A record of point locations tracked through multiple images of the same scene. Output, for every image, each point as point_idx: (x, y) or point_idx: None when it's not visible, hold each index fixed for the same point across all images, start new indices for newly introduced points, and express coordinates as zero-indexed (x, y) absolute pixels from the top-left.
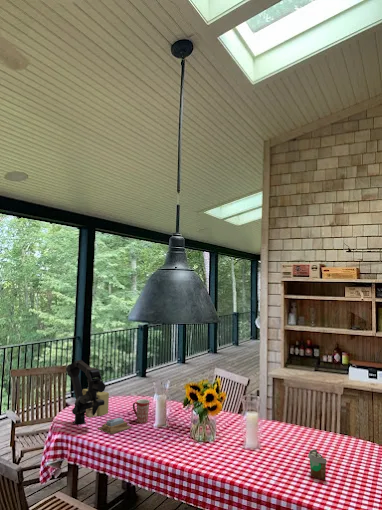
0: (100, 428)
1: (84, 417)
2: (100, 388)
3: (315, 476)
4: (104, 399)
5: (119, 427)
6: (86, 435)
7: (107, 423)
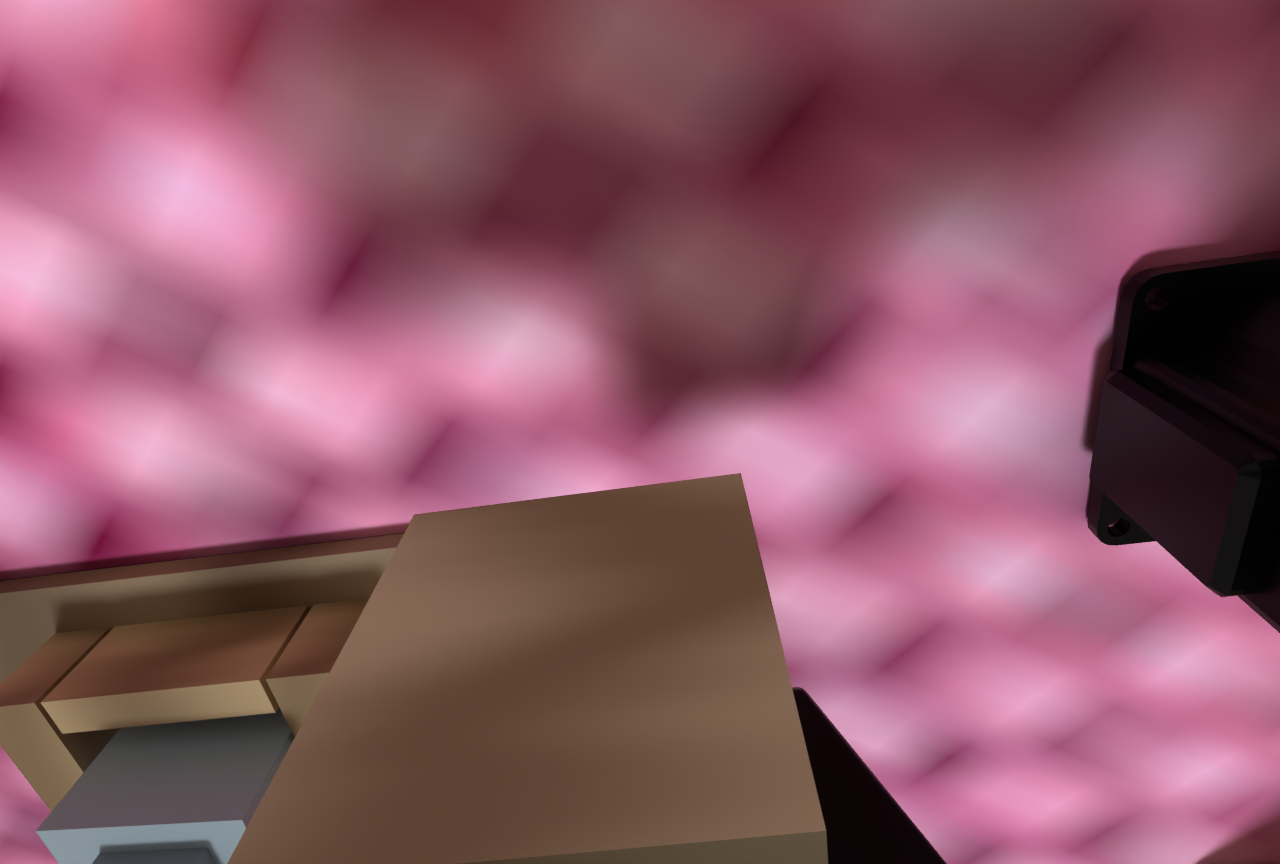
0: None
1: (1185, 560)
2: None
3: None
4: None
5: None
6: (96, 34)
7: (226, 771)
